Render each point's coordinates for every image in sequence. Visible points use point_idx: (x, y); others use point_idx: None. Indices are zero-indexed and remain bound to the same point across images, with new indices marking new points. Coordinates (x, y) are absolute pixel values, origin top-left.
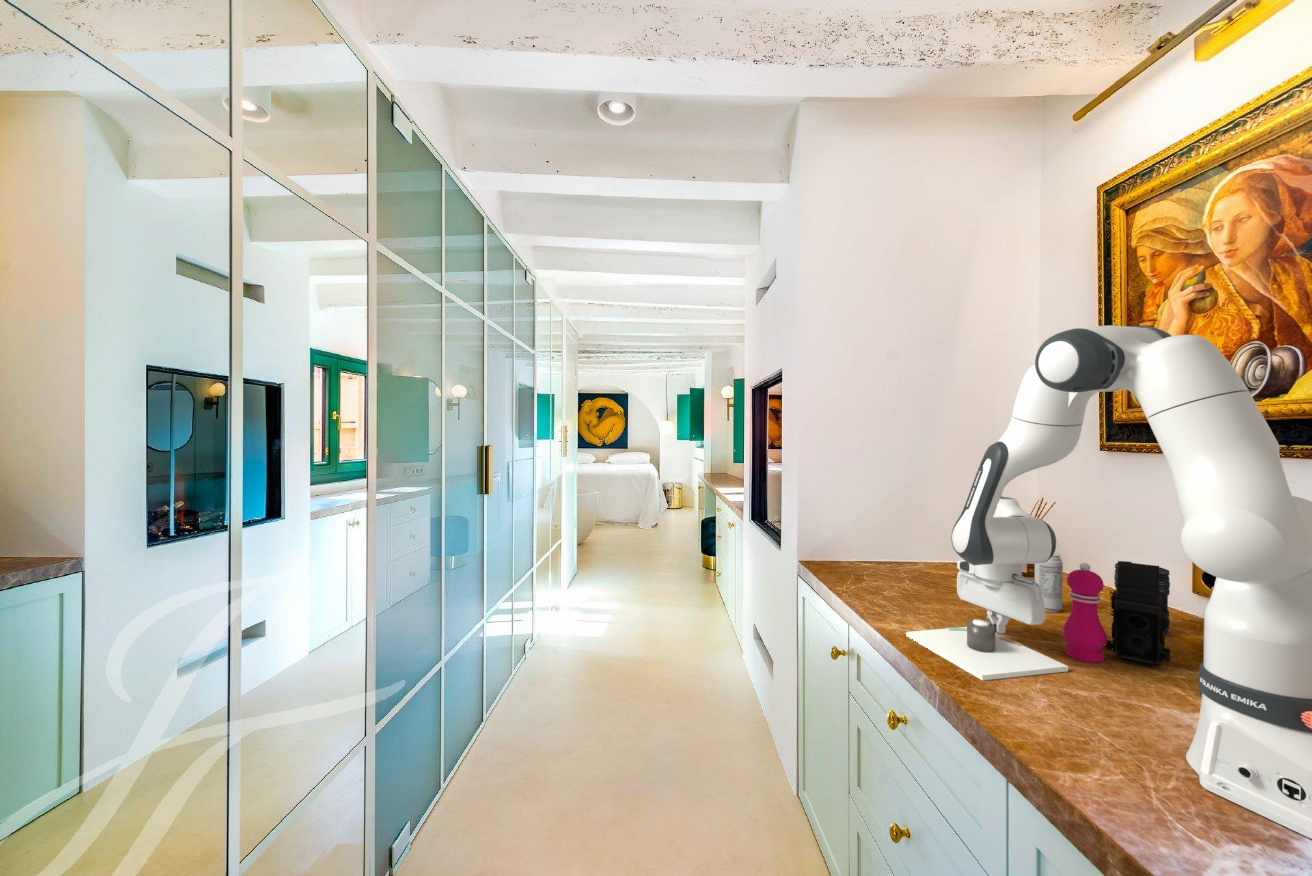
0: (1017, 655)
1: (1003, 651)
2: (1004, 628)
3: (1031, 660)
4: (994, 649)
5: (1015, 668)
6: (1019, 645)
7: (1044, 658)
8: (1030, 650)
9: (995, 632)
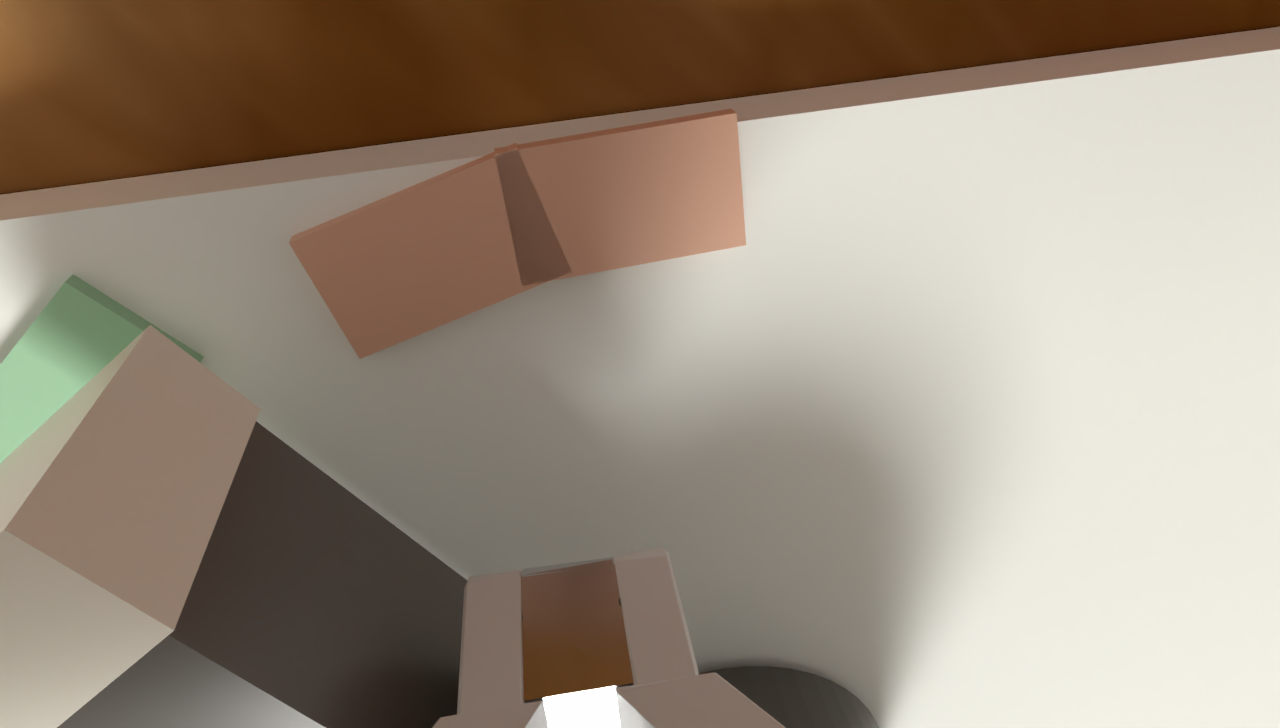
0: (1047, 497)
1: (883, 592)
2: (684, 623)
3: (1234, 422)
4: (872, 720)
5: (1275, 710)
6: (735, 197)
7: (1274, 167)
8: (965, 153)
9: (311, 464)
